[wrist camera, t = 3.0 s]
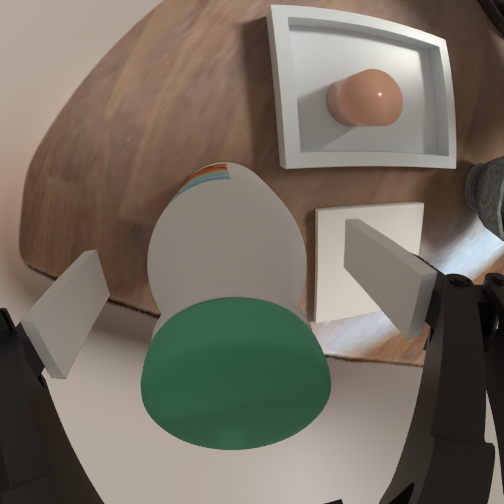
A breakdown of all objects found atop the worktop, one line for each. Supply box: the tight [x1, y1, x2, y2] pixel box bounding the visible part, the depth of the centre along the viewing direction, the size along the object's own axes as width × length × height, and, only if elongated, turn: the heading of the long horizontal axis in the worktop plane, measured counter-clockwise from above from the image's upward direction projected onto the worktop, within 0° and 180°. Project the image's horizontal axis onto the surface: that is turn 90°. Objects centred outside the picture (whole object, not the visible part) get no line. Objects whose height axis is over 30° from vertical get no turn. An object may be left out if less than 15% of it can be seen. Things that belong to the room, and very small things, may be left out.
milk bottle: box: [141, 162, 331, 450], centre depth 15 cm, size 8×8×20 cm
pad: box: [314, 202, 424, 323], centre depth 27 cm, size 12×12×1 cm
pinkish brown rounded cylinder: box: [326, 69, 403, 127], centre depth 19 cm, size 4×4×5 cm
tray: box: [266, 5, 456, 169], centre depth 20 cm, size 18×14×2 cm
